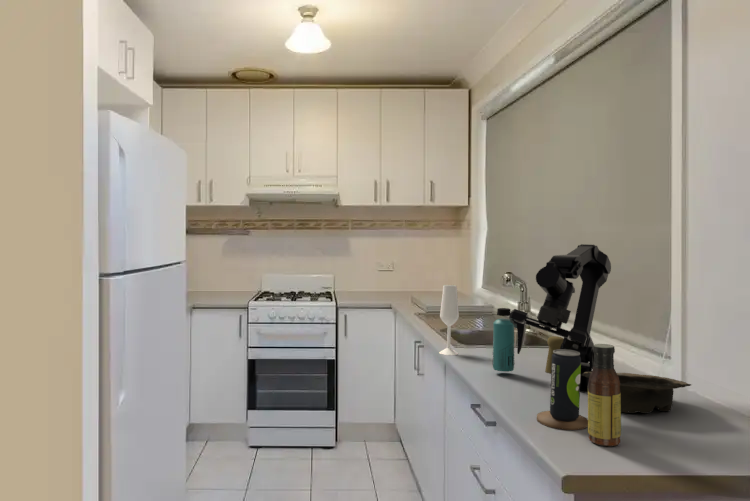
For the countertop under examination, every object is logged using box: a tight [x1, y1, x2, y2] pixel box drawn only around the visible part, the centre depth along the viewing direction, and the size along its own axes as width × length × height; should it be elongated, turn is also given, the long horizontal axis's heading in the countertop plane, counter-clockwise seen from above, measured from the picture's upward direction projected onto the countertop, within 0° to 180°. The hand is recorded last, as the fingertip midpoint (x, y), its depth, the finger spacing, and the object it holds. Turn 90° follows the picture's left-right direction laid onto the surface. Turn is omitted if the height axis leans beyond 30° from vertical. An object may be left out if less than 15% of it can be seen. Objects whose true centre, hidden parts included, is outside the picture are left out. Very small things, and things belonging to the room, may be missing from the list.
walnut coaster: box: [536, 410, 588, 431], centre depth 128 cm, size 11×11×1 cm
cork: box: [545, 335, 564, 375], centre depth 176 cm, size 6×6×11 cm
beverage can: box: [549, 349, 581, 422], centre depth 128 cm, size 6×6×15 cm
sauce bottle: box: [587, 343, 622, 447], centre depth 116 cm, size 7×6×20 cm
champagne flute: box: [438, 284, 460, 356], centre depth 202 cm, size 7×7×24 cm
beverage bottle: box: [492, 307, 516, 373], centre depth 172 cm, size 6×7×20 cm
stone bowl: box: [582, 371, 692, 414], centre depth 143 cm, size 25×25×9 cm
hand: (536, 360), depth 140 cm, fingers open, 9 cm apart
